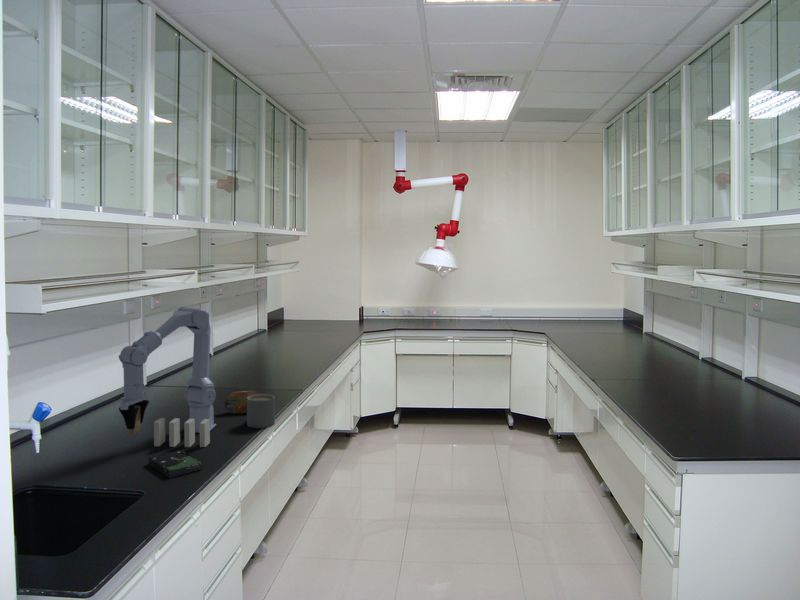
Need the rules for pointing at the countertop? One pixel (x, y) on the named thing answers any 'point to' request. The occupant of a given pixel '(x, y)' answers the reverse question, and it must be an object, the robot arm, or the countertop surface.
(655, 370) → the countertop surface
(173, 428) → the domino
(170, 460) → the disk drive
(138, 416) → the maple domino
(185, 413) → the countertop surface
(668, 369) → the countertop surface
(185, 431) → the domino
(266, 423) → the coffee mug
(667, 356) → the countertop surface
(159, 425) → the domino
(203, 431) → the domino
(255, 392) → the tin
